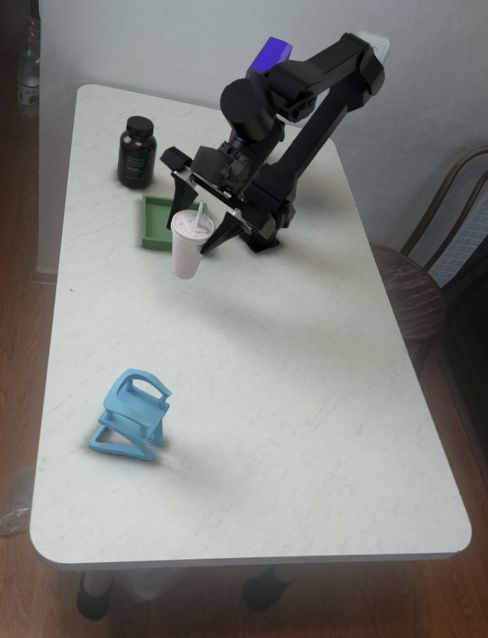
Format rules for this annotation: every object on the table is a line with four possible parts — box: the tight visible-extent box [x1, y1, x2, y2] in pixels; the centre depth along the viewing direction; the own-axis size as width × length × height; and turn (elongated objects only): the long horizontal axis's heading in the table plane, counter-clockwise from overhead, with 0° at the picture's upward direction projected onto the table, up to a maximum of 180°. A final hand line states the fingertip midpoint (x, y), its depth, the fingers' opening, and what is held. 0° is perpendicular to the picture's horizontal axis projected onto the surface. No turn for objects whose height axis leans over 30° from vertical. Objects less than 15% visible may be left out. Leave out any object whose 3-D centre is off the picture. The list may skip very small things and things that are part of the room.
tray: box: [140, 193, 211, 256], centre depth 99 cm, size 12×12×2 cm
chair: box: [88, 368, 173, 462], centre depth 68 cm, size 8×8×12 cm
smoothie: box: [171, 200, 216, 280], centre depth 79 cm, size 6×6×14 cm
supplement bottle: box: [116, 115, 158, 190], centre depth 101 cm, size 7×7×12 cm
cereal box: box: [227, 36, 294, 143], centre depth 108 cm, size 17×5×24 cm, turn 164°
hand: (184, 241), depth 79 cm, fingers closed on smoothie, 6 cm apart
